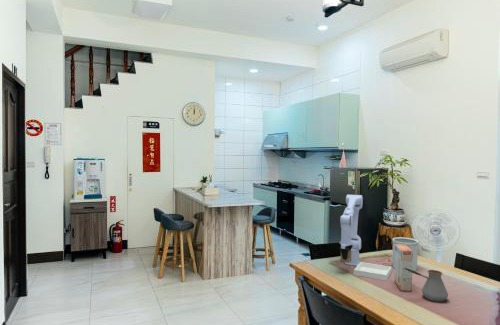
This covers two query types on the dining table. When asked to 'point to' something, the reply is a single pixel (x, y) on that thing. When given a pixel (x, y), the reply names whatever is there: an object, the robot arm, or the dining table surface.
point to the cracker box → (403, 267)
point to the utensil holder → (411, 244)
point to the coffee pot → (433, 286)
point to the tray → (373, 271)
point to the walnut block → (347, 257)
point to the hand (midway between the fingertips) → (345, 258)
